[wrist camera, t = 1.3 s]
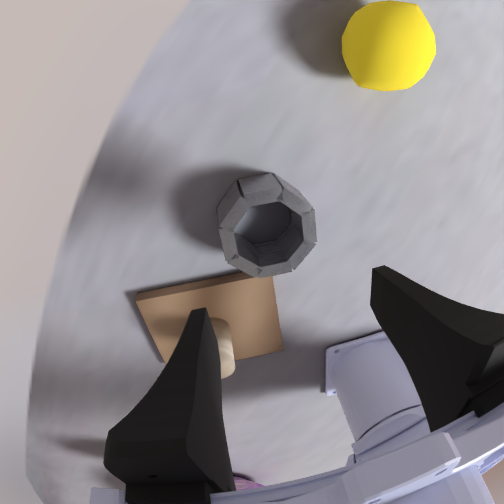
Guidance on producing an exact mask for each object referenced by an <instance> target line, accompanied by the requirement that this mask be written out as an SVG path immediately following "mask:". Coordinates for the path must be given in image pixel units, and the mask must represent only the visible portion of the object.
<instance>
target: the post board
mask: <svg viewBox="0 0 504 504" xmlns="http://www.w3.org/2000/svg"><path fill="white" fill-rule="evenodd" d="M136 304H137V306H138V308H139V310H140V312H141V315H142V317H143V319H144V321H145V323H146V325H147V327H148V329H149V331H150V333H151V336H152V338H153V340H154V342H155V344H156V346H157V348H158V350H159V352H160V354H161V356H162V357H163V359H164V361H165V363H166V364H167V363H168V361H169V359H170V357H171V355H172V353H173V351H174V349H175V347H176V345H177V343H178V341H179V339H180V336H181V334H182V332H183V329H184V327H185V324H186V322H187V319H188V316H189V314H190V312H191V310H194V309H199V308H204V307H206V309H207V312H208V315H209V318H210V321H211V324H212V326H213V329H214V332H215V335H216V338H217V341H218V347H219V354H220V361H221V379H222V378H226V377H228V376H230V375H231V374H232V373H233V372H234V370H235V362H234V361H235V360H240V359H245V358H250V357H255V356H260V355H264V354H269V353H273V352H278V351H282V350H283V345H282V338H281V331H280V324H279V318H278V311H277V304H276V297H275V291H274V284H273V278H272V276H269V277H265V278H260V279H259V277H258V276H257V278H254V277H252V276H251V275H249V274H247V273H245V272H240V273H235V274H230V275H225V276H220V277H216V278H211V279H206V280H201V281H196V282H191V283H186V284H181V285H176V286H171V287H166V288H161V289H156V290H151V291H146V292H141V293H137V297H136Z"/></svg>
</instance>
